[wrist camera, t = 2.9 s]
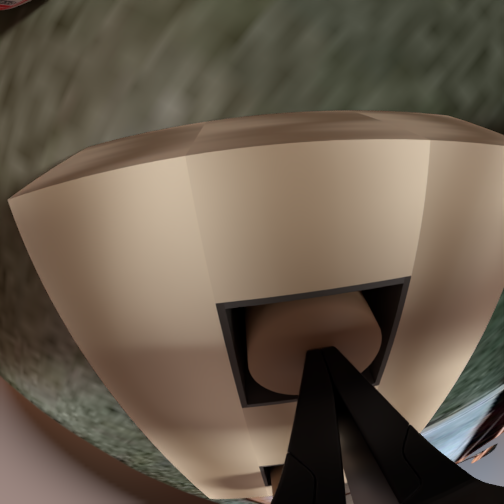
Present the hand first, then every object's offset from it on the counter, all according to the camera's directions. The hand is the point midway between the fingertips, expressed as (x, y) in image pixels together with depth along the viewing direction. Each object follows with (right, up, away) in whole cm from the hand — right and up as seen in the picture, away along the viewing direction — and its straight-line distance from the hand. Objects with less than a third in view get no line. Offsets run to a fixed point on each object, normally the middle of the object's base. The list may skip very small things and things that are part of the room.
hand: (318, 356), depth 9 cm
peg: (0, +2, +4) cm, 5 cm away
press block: (0, -2, +7) cm, 8 cm away
